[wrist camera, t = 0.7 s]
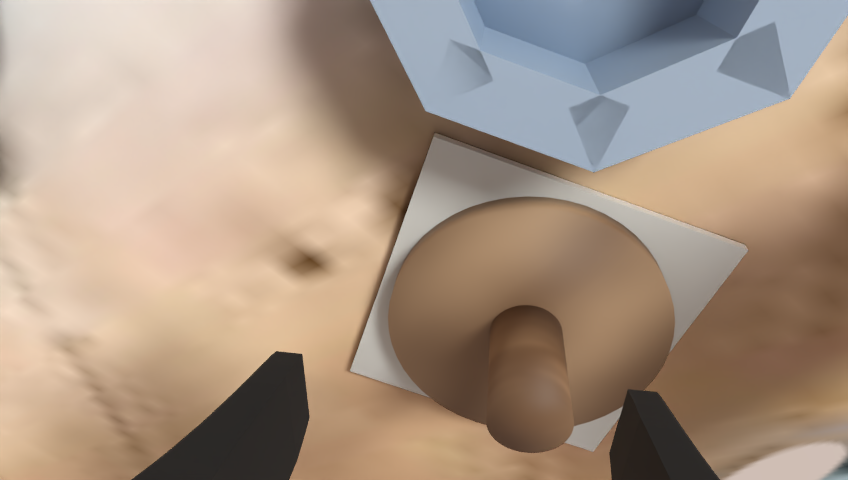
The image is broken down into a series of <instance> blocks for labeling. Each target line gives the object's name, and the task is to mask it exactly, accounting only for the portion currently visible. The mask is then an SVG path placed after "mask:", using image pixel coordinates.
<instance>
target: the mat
mask: <svg viewBox="0 0 848 480" xmlns="http://www.w3.org/2000/svg"><path fill="white" fill-rule="evenodd" d="M525 196H531V197H549V198H555V199H561V200H567V201H571V202H574V203H578V204H581V205H585V206H588V207H590V208H592V209H595V210H597V211H599V212H602V213H604V214H606V215H608V216H609V217H611V218H613V219H614V220H616V221H618V222H619V223H621V224H622V225H624V226H625V227H626V228H627V229H629V230H630V231H631V232H632V233H634V234H635V235H636V236H637V237H638V238H639V239H640V240H641V241H642V242H643V244H644V245H645V246H646V247H647V248H648V249H649V251H650V252H651V254H652V255H653V257H654V258H655V260H656V261H657V263H658V265H659V268H660V270H661V272H662V274H663V276H664V279H665V281H666V284H667V286H668V288H669V291H670V294H671V298H672V302H673V305H674V315H675V328H674V338H673V341H672V345H671V348H670V351H671V350H672V349H673V348H674V346H675V345H676V344H677V342H678V341H679V340H680V339H681V337H682V336H683V335H684V333H685V332H686V331H687V329H688V328H689V327H690V326H691V324H692V323H693V322H694V320H695V319H696V318H697V316H698V315H699V314H700V313H701V311H702V310H703V309H704V307H705V306H706V305H707V303H708V302H709V301H710V300H711V298H712V297H713V296H714V294H715V293H716V292H717V291H718V289H719V288H720V287H721V285H722V284H723V283H724V281H725V280H726V279H727V278H728V276H729V275H730V274H731V272H732V271H733V270H734V268H735V267H736V266H737V265H738V263H739V262H740V261H741V259H742V258H743V257H744V255H745V254H746V253H747V252H748V249H747V247H746V246H745V244H742V243H739V242H736V241H734V240H731V239H728V238H725V237H722V236H720V235H717V234H714V233H711V232H709V231H706V230H703V229H700V228H698V227H695V226H692V225H689V224H686V223H684V222H681V221H678V220H675V219H673V218H670V217H667V216H664V215H662V214H659V213H656V212H653V211H650V210H648V209H645V208H642V207H639V206H637V205H634V204H631V203H628V202H626V201H623V200H620V199H617V198H614V197H612V196H609V195H606V194H603V193H601V192H598V191H595V190H592V189H589V188H587V187H584V186H581V185H578V184H576V183H573V182H570V181H567V180H565V179H562V178H559V177H556V176H553V175H551V174H548V173H545V172H542V171H540V170H537V169H534V168H531V167H529V166H526V165H523V164H520V163H517V162H515V161H512V160H509V159H506V158H504V157H501V156H498V155H495V154H493V153H490V152H487V151H484V150H481V149H479V148H476V147H473V146H470V145H468V144H465V143H462V142H459V141H457V140H454V139H451V138H448V137H445V136H443V135H440V134H437V133H435V134H434V136H433V139H432V142H431V145H430V148H429V150H428V153H427V156H426V159H425V162H424V164H423V167H422V170H421V173H420V176H419V178H418V181H417V184H416V187H415V190H414V192H413V195H412V198H411V201H410V204H409V206H408V209H407V212H406V215H405V218H404V221H403V223H402V226H401V229H400V232H399V235H398V237H397V240H396V243H395V246H394V249H393V251H392V254H391V257H390V260H389V263H388V265H387V268H386V271H385V274H384V277H383V279H382V282H381V285H380V288H379V291H378V293H377V296H376V299H375V302H374V305H373V307H372V310H371V313H370V316H369V319H368V321H367V324H366V327H365V330H364V333H363V335H362V338H361V341H360V344H359V347H358V350H357V352H356V355H355V358H354V361H353V364H352V366H351V369H350V371H351V372H354V373H357V374H360V375H363V376H366V377H369V378H372V379H375V380H378V381H381V382H384V383H387V384H390V385H393V386H396V387H399V388H402V389H405V390H408V391H411V392H414V393H417V394H420V395H423V396H426V397H429V396H428V395H427V394H425V393H424V392H423V391H422V390H421V389H420V388H419V387H418V386H417V385H416V384H415V383H414V382H413V381H412V380H411V378H410V377H409V376H408V374H407V373H406V372H405V370H404V369H403V367H402V366H401V364H400V362H399V360H398V358H397V356H396V354H395V351H394V349H393V346H392V343H391V339H390V334H389V326H388V312H389V302H390V299H391V295H392V292H393V288H394V285H395V282H396V278H397V275H398V272H399V270H400V268H401V266H402V264H403V262H404V260H405V258H406V257H407V255H408V254H409V252H410V251H411V249H412V248H413V247H414V246H415V245H416V243H417V242H418V241H419V240H420V239H421V238H422V237H423V236H424V235H425V234H426V233H427V232H429V231H430V230H431V229H432V228H433V227H435V226H436V225H437V224H439V223H440V222H442V221H444V220H445V219H447V218H448V217H450V216H452V215H454V214H456V213H458V212H460V211H462V210H464V209H467V208H469V207H472V206H475V205H478V204H481V203H484V202H488V201H493V200H498V199H503V198H511V197H525ZM669 353H670V352H669ZM429 398H430V397H429ZM622 408H623V406H622V407H621V408H619V409H617V410H615V411H614V412H612V413H610V414H608V415H606V416H604V417H601V418H598V419H596V420H593V421H591V422H588V423H584V424H580V425H577V426H574V428H573V432H572V434H571V436H570V437H569V438H568V440H567V441H565V443H568V444H571V445H574V446H577V447H580V448H583V449H586V450H589V451H592V452H593V451H594V450H595V449H596V448H597V446H598V445H599V444H600V442H601V441H602V440H603V438H604V437H605V436H606V435H607V433H608V432H609V431H610V429H611V428H612V427H613V425H614V424H615V423H616V422H617V420H618V419H619V418H620V415H621V411H622Z"/></svg>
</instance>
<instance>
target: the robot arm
mask: <svg viewBox="0 0 848 480" xmlns="http://www.w3.org/2000/svg"><path fill="white" fill-rule="evenodd" d="M308 421H309V409H308V400H307V392H306V383H305V374H304V366H303V357H302V354H296V353H287V352H278V351H276V352H275V353H274V354H272V355H271V356H270V357H269V358H268V359H267V360H266V361H265V362H264V363H263V364H262V365H261V366H260V367H259V368H258V369H257V370H256V371H255V372H254V373H253V374H252V375H251V376H250V377H249V378H248V379H247V380H246V381H245V382H244V383H243V384H242V385H241V386H240V387H239V388H238V389H237V390H236V391H235V392H234V393H233V394H232V395H231V396H230V397H229V398H228V399H227V400H226V401H225V402H224V403H222V404H221V405H220V406H219V407H218V408H217V409H216V410H215V411H214V412H213V413H212V414H211V415H210V416H209V417H207V418H206V419H205V420H204V421H203V422H202V423H201V424H200V425H199V426H197V427H196V428H195V429H194V430H193V431H192V432H190V433H189V434H188V435H187V436H186V437H185V438H183V439H182V440H181V441H180V442H179V443H177V444H176V445H175V446H174V447H173V448H172V449H170V450H169V451H168V452H167V453H165V454H164V455H163V456H162V457H160V458H159V459H158V460H157V461H155V462H154V463H153V464H152V465H150V466H149V467H148V468H146V469H145V470H144V471H142V472H141V473H140V474H138V475H137V476H136V477H134V478H133V479H132V480H289V479H290V476H291V474H292V471H293V469H294V467H295V464H296V462H297V459H298V456H299V452H300V449H301V446H302V442H303V439H304V435H305V432H306V428H307V425H308ZM610 464H611V474H612V480H720V479H719V478H718V477H717V475H716V474H715V473H714V471H713V470H712V469H711V467H710V466H709V465H708V463H707V462H706V461H705V459H704V458H703V457H702V455H701V454H700V452H699V451H698V450H697V448H696V447H695V445H694V444H693V443H692V441H691V440H690V438H689V437H688V435H687V434H686V433H685V431H684V430H683V428H682V427H681V425H680V424H679V422H678V421H677V420H676V418H675V417H674V415H673V414H672V412H671V411H670V409H669V408H668V406H667V405H666V403H665V402H664V400H663V399H662V397H661V396H660V395H659V394H658V393H657V392H650V391H641V390H632V389H628V390H627V394H626V397H625V401H624V404H623V408H622V411H621V415H620V418H619V422H618V425H617V429H616V432H615V436H614V439H613V442H612V446H611V449H610Z"/></svg>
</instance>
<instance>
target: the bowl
mask: <svg viewBox="0 0 848 480" xmlns="http://www.w3.org/2000/svg"><path fill="white" fill-rule="evenodd" d="M370 1H371V3H372V5H373V7H374V9H375V11H376V13H377V15H378V17H379V19H380V21H381V23H382V25H383V27H384V29H385V31H386V33H387V35H388V37H389V39H390V41H391V43H392V45H393V47H394V49H395V51H396V53H397V55H398V57H399V59H400V61H401V63H402V65H403V67H404V69H405V71H406V73H407V75H408V77H409V79H410V81H411V83H412V85H413V87H414V89H415V91H416V93H417V95H418V97H419V99H420V101H421V103H422V105H423V107H424V109H425V111H427V112H429V113H432V114H435V115H438V116H440V117H443V118H446V119H449V120H451V121H454V122H457V123H460V124H462V125H465V126H468V127H471V128H473V129H476V130H479V131H482V132H484V133H487V134H490V135H493V136H495V137H498V138H501V139H504V140H506V141H509V142H512V143H515V144H517V145H520V146H523V147H526V148H529V149H531V150H534V151H537V152H540V153H542V154H545V155H548V156H551V157H553V158H556V159H559V160H562V161H564V162H567V163H570V164H573V165H575V166H578V167H581V168H584V169H586V170H589V171H592V172H596V171H599V170H601V169H604V168H607V167H609V166H612V165H615V164H617V163H620V162H623V161H625V160H628V159H631V158H633V157H636V156H639V155H641V154H644V153H646V152H649V151H652V150H654V149H657V148H660V147H662V146H665V145H668V144H670V143H673V142H676V141H678V140H681V139H684V138H686V137H689V136H692V135H694V134H697V133H700V132H702V131H705V130H708V129H710V128H713V127H716V126H718V125H721V124H723V123H726V122H729V121H731V120H734V119H737V118H739V117H742V116H745V115H747V114H750V113H753V112H755V111H758V110H761V109H763V108H766V107H769V106H771V105H774V104H777V103H779V102H782V101H785V100H787V99H790V98H791V96H792V95H793V93H794V92H795V90H796V89H797V88H798V86H799V85H800V83H801V82H802V80H803V79H804V78H805V76H806V75H807V73H808V72H809V70H810V69H811V67H812V66H813V65H814V63H815V62H816V60H817V59H818V57H819V56H820V55H821V53H822V52H823V50H824V49H825V47H826V46H827V44H828V43H829V42H830V40H831V39H832V37H833V36H834V34H835V33H836V32H837V30H838V29H839V27H840V26H841V24H842V23H843V21H844V20H845V19H846V17H847V16H848V0H370Z"/></svg>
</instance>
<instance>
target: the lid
mask: <svg viewBox="0 0 848 480" xmlns="http://www.w3.org/2000/svg"><path fill="white" fill-rule="evenodd" d="M388 326H389V334H390V339H391V343H392V346H393V349H394V351H395V354H396V356H397V358H398V360H399V362H400V364H401V366H402V367H403V369H404V370H405V372H406V373H407V374H408V376H409V377H410V378H411V380H412V381H413V382H414V383H415V384H416V385H417V386H418V387H419V388H420V389H421V390H422V391H423V392H424V393H425V394H427V395H428V396H429V397H430V398H431V399H433V400H434V401H435V402H437V403H439V404H440V405H442V406H443V407H445V408H446V409H448V410H450V411H452V412H454V413H456V414H458V415H460V416H462V417H465V418H467V419H470V420H473V421H475V422H479V423H482V424H486V425H487V428H488V431H489V432H490V434H491V435H492V437H493V438H494V439H495V440H496V441H497V442H499V443H500V444H502V445H503V446H505V447H507V448H510V449H512V450H516V451H520V452H527V453H537V452H545V451H549V450H552V449H554V448H556V447H558V446H560V445H562V444H563V443H564V442H565V441H567V440H568V438H569V437H570V436H571V434H572V432H573V428H574V426H577V425H580V424H584V423H588V422H591V421H593V420H596V419H598V418H601V417H604V416H606V415H608V414H610V413H612V412H614V411H615V410H617V409H619V408H621V407H622V406H623V404H624V401H625V397H626V394H627V390H628V389H632V390H641V391H643V390H644V389H645V388H646V387H647V386H648V385H649V384H650V383H651V382H652V381H653V379H654V378H655V377H656V375H657V374H658V372H659V371H660V369H661V368H662V366H663V365H664V363H665V360H666V358H667V356H668V354H669V352H670V348H671V345H672V341H673V338H674V328H675V315H674V305H673V302H672V298H671V294H670V291H669V288H668V286H667V284H666V281H665V279H664V276H663V274H662V272H661V270H660V268H659V265H658V263H657V261H656V260H655V258H654V257H653V255H652V254H651V252H650V251H649V249H648V248H647V247H646V246H645V245H644V244H643V242H642V241H641V240H640V239H639V238H638V237H637V236H636V235H635V234H634V233H632V232H631V231H630V230H629V229H627V228H626V227H625V226H624V225H622V224H621V223H619V222H618V221H616V220H614V219H613V218H611V217H609V216H608V215H606V214H604V213H602V212H599V211H597V210H595V209H592V208H590V207H588V206H585V205H581V204H578V203H574V202H571V201H567V200H561V199H555V198H549V197H531V196H525V197H511V198H503V199H498V200H493V201H488V202H484V203H481V204H478V205H475V206H472V207H469V208H467V209H464V210H462V211H460V212H458V213H456V214H454V215H452V216H450V217H448V218H447V219H445V220H444V221H442V222H440V223H439V224H437V225H436V226H435V227H433V228H432V229H431V230H430V231H429V232H427V233H426V234H425V235H424V236H423V237H422V238H421V239H420V240H419V241H418V242H417V243H416V245H415V246H414V247H413V248H412V249H411V251H410V252H409V254H408V255H407V257H406V258H405V260H404V262H403V264H402V266H401V268H400V270H399V272H398V275H397V278H396V282H395V285H394V288H393V292H392V295H391V299H390V302H389V312H388Z"/></svg>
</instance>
